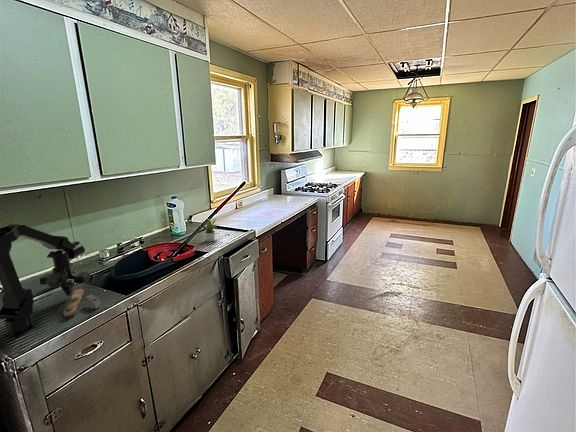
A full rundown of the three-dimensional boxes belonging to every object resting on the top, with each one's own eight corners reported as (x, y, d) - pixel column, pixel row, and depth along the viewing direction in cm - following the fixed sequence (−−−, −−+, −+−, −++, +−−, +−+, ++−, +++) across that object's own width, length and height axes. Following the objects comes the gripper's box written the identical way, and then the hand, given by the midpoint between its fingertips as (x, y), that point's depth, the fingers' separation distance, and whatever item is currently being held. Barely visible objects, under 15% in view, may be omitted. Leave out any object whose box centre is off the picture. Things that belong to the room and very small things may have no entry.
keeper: (95, 309, 127) (93, 301, 126) (87, 304, 131) (85, 297, 130) (101, 306, 129) (99, 298, 128) (92, 302, 133) (91, 294, 132)
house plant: (212, 234, 221) (210, 213, 217) (225, 238, 213) (224, 216, 209) (196, 240, 210) (194, 218, 205) (210, 244, 202) (208, 221, 198)
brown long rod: (74, 315, 122) (73, 309, 121) (62, 318, 120) (61, 311, 120) (84, 292, 140) (83, 287, 139) (74, 294, 138) (73, 289, 137)
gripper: (25, 272, 123) (34, 306, 127) (72, 271, 124) (79, 304, 128) (45, 261, 133) (52, 292, 138) (88, 260, 135) (94, 291, 139)
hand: (69, 295), depth 135 cm, fingers closed
